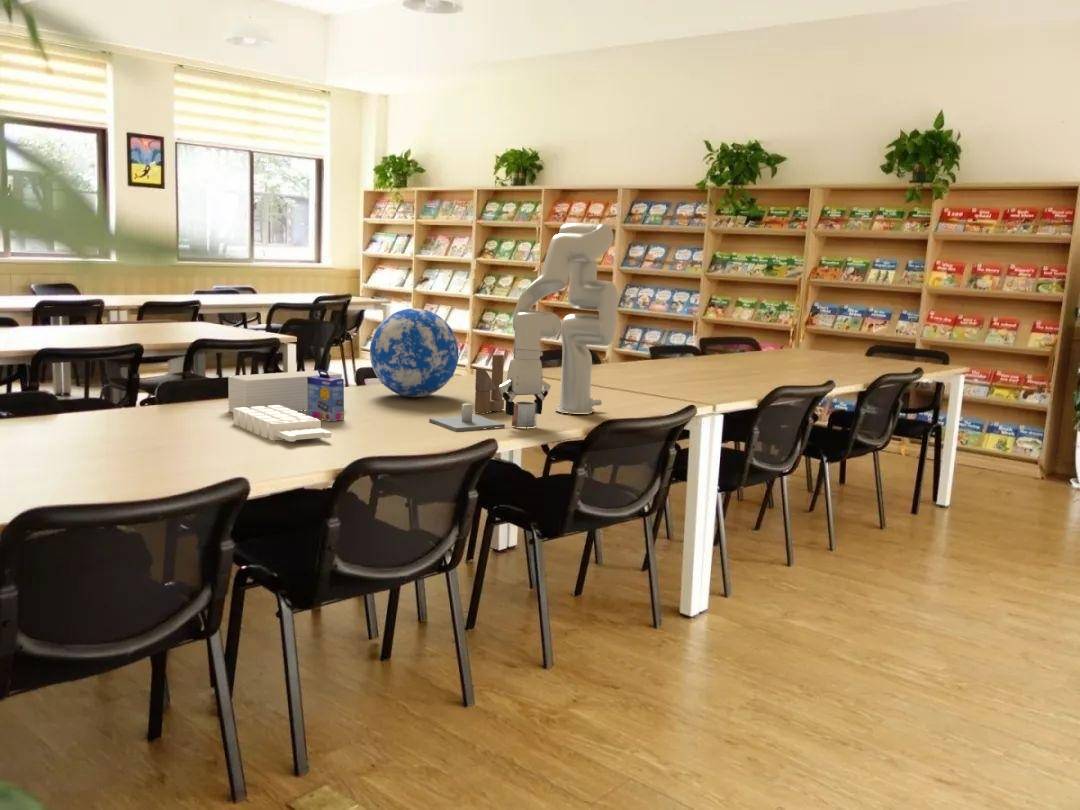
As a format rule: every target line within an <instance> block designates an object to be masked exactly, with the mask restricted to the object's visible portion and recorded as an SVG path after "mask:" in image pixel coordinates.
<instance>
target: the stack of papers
mask: <svg viewBox="0 0 1080 810" xmlns="http://www.w3.org/2000/svg"><path fill="white" fill-rule="evenodd" d="M326 371H327V372H328V374H329V376H330V377H337V378H343V374H342V373H338V372H332V371H328V370H326ZM320 373H321V374H326V373H324V372H320ZM317 375H319V373H318V370H317V369H316V370H305V371H302V370H301V371H289V372H288V371H287V372H275V373H274V372H271V373H270V372H269V373H256V374H242V375H241V374H238V375H228V377H227V378H228V381H227V382H228V383H227V384H228V397H227V398H228V412H229V411H230V412H229V413H233V408H241V407H247V408H249V409H250V407H255V406H264V407H266V408H267V406H270V405H280V406H283V407H284V408H289V409H291V410H294V411H301V410H308V390H307V377H309V376H317ZM301 412H302V411H301Z"/></svg>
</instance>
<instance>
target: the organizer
mask: <svg viewBox="0 0 1080 810" xmlns="http://www.w3.org/2000/svg"><path fill="white" fill-rule="evenodd" d="M232 413H233V425H235V426H237V425H238V427H240V428H242V429H245V430H247V431H248V430H249V431H248V432H251V433H254V434H255V433H256V434H255V435H257V434H258V436H261V437H262V436H263V437H262V438H264V437H265V438H264V439H266V438H268V440H269V439H270V440H269V441H271V440H273V441H272V442H275V441H274V440H282V439H285V440H284V441H288V442H296V441H297V440H308V439H309V440H310V439H319V438H325V439H331V438H332V432H331V431H329V430H326V429H325V428H322V426H321V425H322V424H321V423H322V422H321V421H322V420H319V419H314V418H313V417H310V416H308V415H307V414H304V413H302V412H297V411H294V410H291V409H289V408H284V407H283V406H280V405H270V406H267V408H266V407H264V406H255V407H250V409H249V408H247V407H241V408H233V412H232ZM282 441H283V440H282Z"/></svg>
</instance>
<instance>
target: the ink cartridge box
mask: <svg viewBox="0 0 1080 810" xmlns="http://www.w3.org/2000/svg"><path fill="white" fill-rule="evenodd" d="M317 370H318V373H319V375H317V376H309V377H307V390H308V411H307V416H310V417H313V418H317V419H323V420H322V421H324V420H329V421H333V422H336V421H335V420H339V421H344V420H345V388H344V387H345V384H344V382H345V381H344V380H345V379H344V378H343V377H341V378H337V377H330V376H329V374H328V372H327V371H328V370H326V369H325V370H324V369H316V371H317ZM320 372H324V373H326V374H321V373H320ZM343 419H344V420H343ZM329 421H328V422H329Z"/></svg>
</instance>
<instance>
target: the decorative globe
mask: <svg viewBox="0 0 1080 810" xmlns="http://www.w3.org/2000/svg"><path fill="white" fill-rule="evenodd" d="M459 355H460V353H459V345H458V340H457V336H456V334H455V333H454V331H453V329H452V328H451V326H450V325H449V324H448V323H447V321H445V319H443V318H442V317H441V316H439V315H438V314H436V313H434V312H432V311H430V310H427V309H424V308H414V307H413V308H405V309H402V310H398V311H396V312H393V313H392V314H390V315H389V316H387V317H386V318H385V319H383V321H382V322H380V324H379V325H378V326H377V327H376V330H375V332H374V333H373V336H372V338H371V342H370V345H369V358H370V359H369V361H370V364H371V367H372V370H373V372H374V374H375V375H376V377H377V379H378V380H379V382H380V383H381V384H383V386H384V387H386V388H387V389H388V390H390V391H391V392H393V393H395V394H396V395H397V394H398V395H400V396H403V397H407V398H421V397H426V396H429V395H432V394H434V393H436V392H438V391H439V390H441V389H442V388H443V387H444V386H446V384H447V383H448V382H449V381H450V380H451V379H452V377H453V375H454V373H456V369H457V366H458V362H459Z"/></svg>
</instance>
